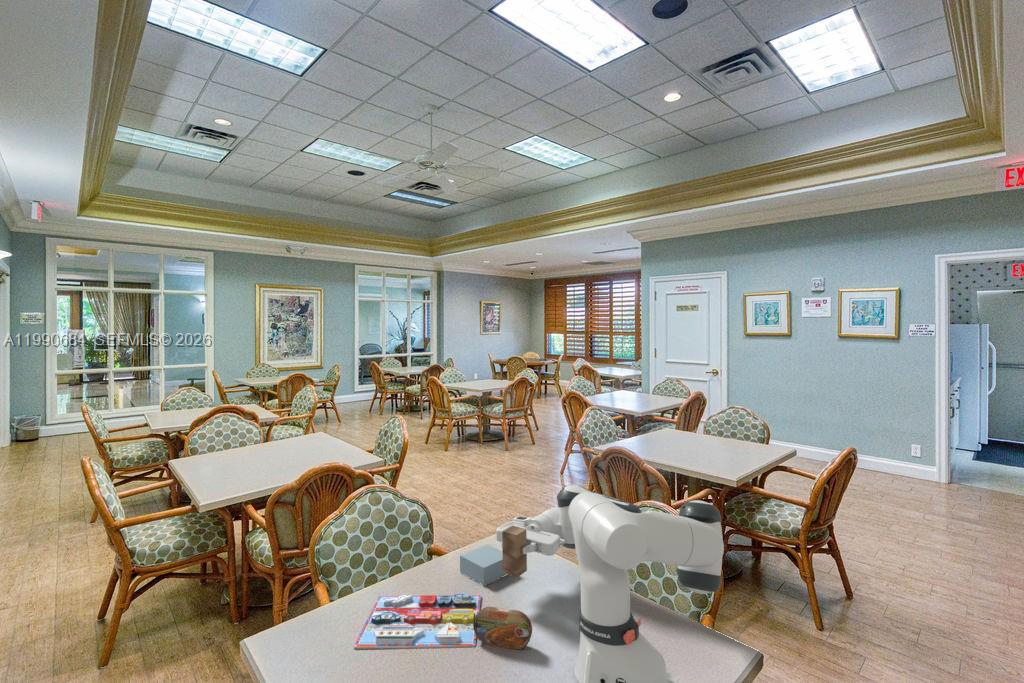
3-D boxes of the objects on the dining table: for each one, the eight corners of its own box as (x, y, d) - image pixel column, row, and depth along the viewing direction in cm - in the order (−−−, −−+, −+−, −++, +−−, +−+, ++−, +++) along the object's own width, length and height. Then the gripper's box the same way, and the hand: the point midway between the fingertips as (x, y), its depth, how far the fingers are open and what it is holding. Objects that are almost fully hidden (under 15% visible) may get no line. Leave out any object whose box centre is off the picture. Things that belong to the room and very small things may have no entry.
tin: (472, 642, 120) (472, 608, 120) (477, 634, 123) (477, 602, 123) (530, 652, 115) (530, 618, 115) (533, 644, 118) (533, 611, 118)
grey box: (511, 573, 155) (511, 555, 155) (483, 587, 147) (483, 567, 147) (487, 561, 164) (487, 544, 164) (460, 573, 155) (459, 555, 155)
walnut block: (526, 570, 137) (526, 529, 137) (517, 577, 133) (516, 535, 133) (512, 566, 140) (512, 525, 140) (502, 572, 136) (502, 531, 136)
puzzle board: (353, 651, 117) (353, 641, 117) (378, 601, 140) (378, 592, 140) (476, 649, 117) (475, 638, 117) (481, 599, 140) (481, 590, 140)
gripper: (568, 550, 141) (544, 569, 130) (511, 535, 153) (485, 550, 141) (567, 529, 141) (543, 546, 130) (511, 515, 153) (485, 529, 141)
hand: (512, 548), depth 136 cm, fingers closed on walnut block, 5 cm apart
